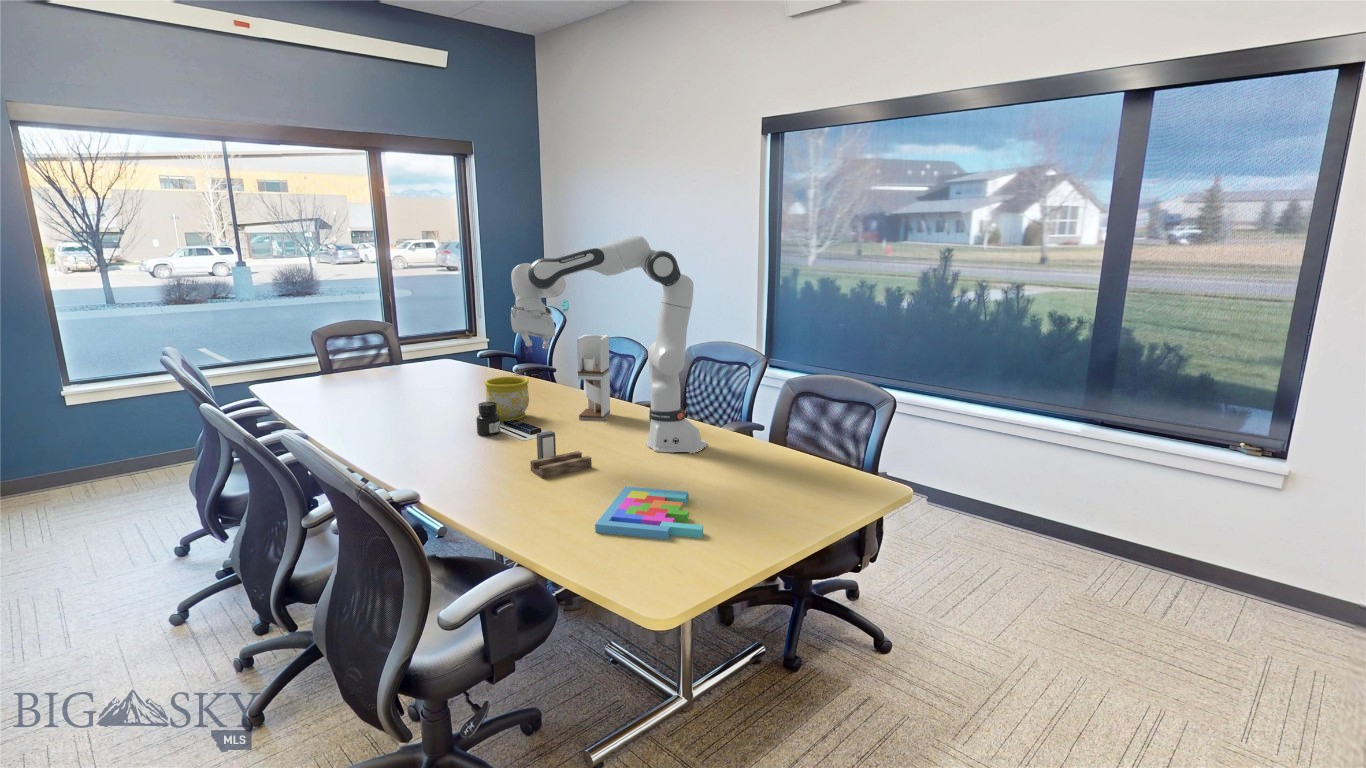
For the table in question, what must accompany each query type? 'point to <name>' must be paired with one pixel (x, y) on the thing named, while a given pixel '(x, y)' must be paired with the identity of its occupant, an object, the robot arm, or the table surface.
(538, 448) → the dark grey rectangular block
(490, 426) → the ink bottle
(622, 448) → the table surface
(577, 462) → the display ledge
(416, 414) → the table surface
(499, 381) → the flowerpot
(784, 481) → the table surface
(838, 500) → the table surface
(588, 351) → the rack with curved panels
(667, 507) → the tetris game
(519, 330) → the robot arm
